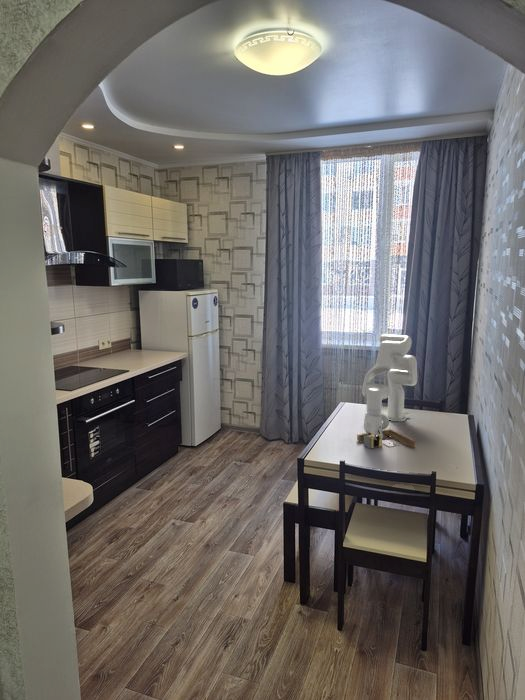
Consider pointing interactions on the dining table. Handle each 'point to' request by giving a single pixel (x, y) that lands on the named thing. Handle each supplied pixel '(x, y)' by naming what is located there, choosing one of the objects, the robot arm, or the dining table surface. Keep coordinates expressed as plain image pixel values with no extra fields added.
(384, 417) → the donut
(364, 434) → the tan wooden angled piece
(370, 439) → the bar block
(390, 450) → the dining table surface
